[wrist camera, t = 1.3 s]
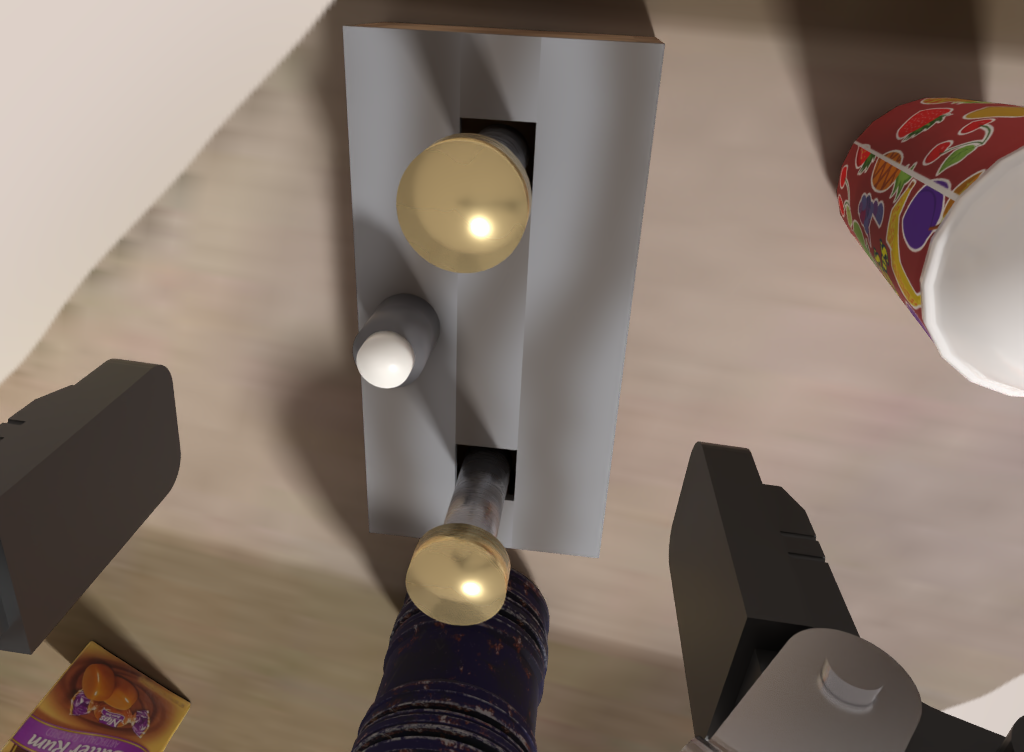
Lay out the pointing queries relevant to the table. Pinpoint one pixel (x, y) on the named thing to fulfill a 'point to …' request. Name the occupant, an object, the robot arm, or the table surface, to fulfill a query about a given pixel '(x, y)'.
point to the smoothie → (948, 226)
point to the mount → (504, 269)
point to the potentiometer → (396, 341)
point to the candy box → (101, 710)
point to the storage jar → (462, 680)
